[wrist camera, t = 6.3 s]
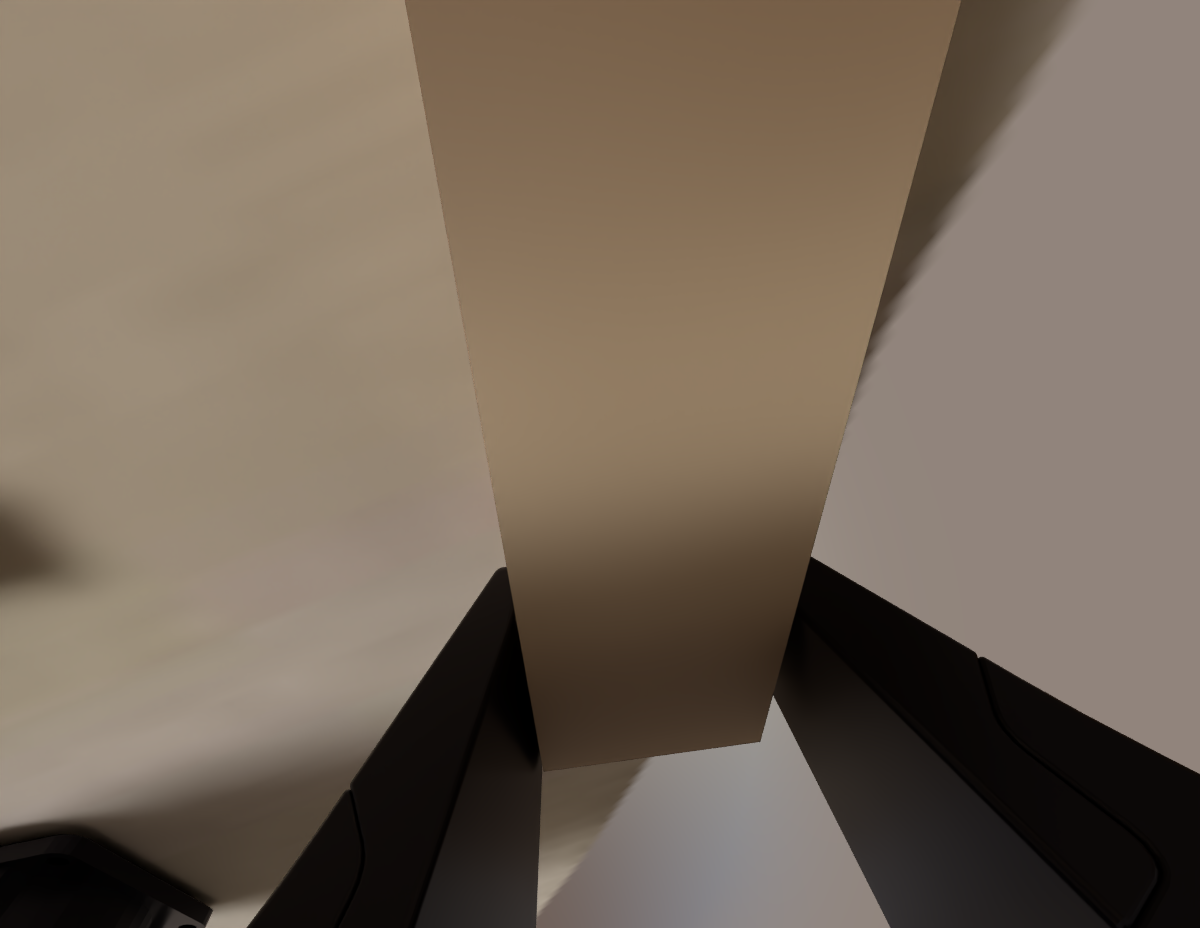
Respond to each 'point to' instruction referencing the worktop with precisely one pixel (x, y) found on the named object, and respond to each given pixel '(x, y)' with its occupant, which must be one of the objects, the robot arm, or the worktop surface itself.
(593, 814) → the worktop surface
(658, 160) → the wooden l-shaped bracket
